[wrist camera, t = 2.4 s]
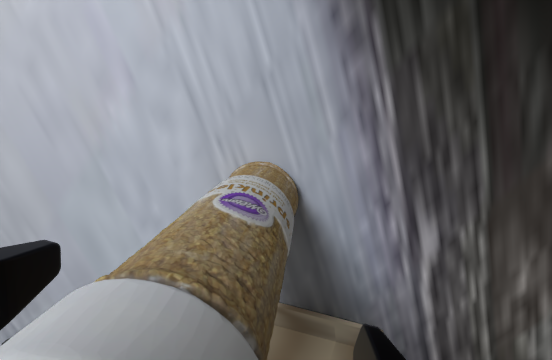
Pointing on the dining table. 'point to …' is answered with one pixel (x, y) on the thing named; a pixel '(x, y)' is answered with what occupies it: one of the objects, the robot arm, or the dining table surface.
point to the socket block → (311, 336)
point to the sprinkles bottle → (183, 284)
